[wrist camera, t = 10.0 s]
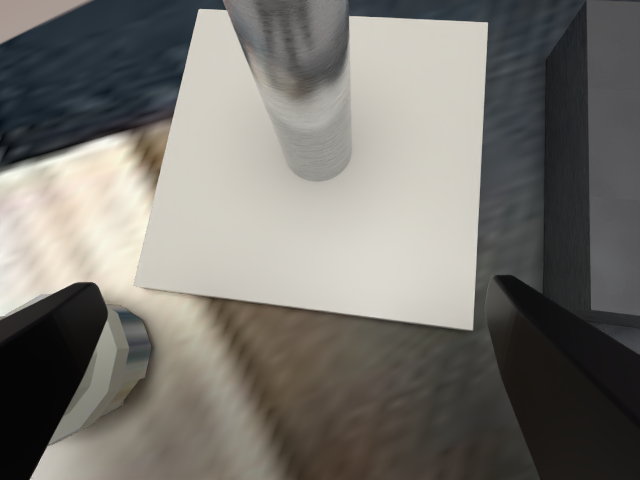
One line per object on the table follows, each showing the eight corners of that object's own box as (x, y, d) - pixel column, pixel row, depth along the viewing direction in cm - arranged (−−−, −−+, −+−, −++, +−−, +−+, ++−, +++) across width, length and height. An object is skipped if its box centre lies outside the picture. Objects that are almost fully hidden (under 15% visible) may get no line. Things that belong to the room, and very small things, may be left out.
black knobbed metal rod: (372, 168, 18) (411, -253, 5) (295, 200, 18) (145, -143, 5) (339, 101, 19) (303, -396, 6) (266, 132, 19) (77, -304, 6)
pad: (465, 330, 17) (472, 330, 16) (145, 288, 18) (133, 285, 17) (481, 38, 20) (487, 22, 19) (206, 23, 22) (199, 9, 21)
